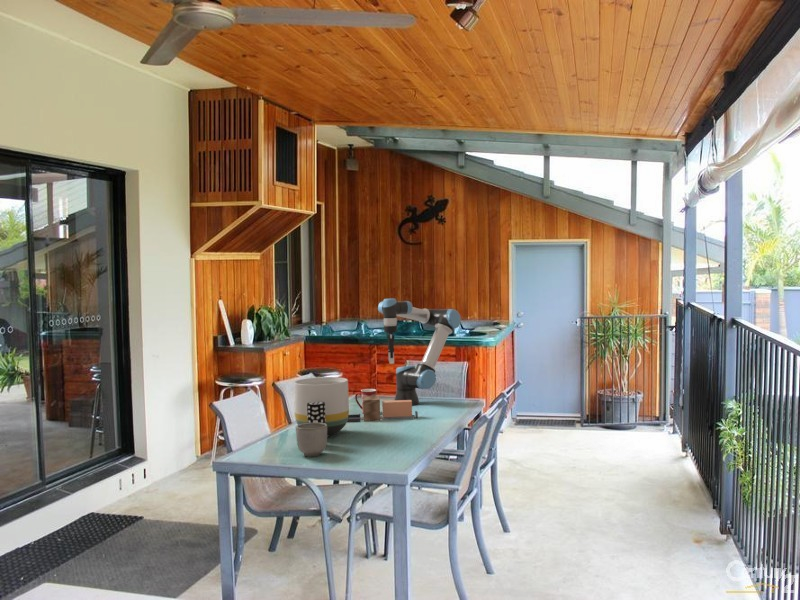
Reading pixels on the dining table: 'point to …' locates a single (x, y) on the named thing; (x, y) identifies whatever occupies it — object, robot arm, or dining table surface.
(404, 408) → the block
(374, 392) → the mug
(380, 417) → the track
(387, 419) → the pad
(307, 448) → the planter
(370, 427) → the dining table surface
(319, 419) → the white-spotted black cylinder
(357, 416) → the dark grey tray
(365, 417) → the open box
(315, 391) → the planter
